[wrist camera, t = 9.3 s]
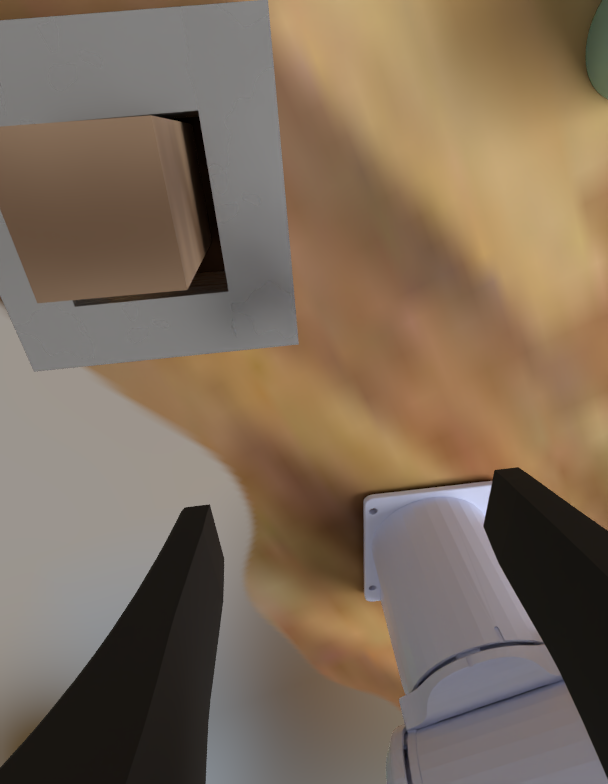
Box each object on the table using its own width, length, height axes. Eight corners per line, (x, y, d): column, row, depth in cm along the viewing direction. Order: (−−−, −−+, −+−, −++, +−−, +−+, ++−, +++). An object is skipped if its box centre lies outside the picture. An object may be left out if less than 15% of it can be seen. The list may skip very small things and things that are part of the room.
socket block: (293, 316, 19) (298, 344, 17) (65, 339, 19) (34, 371, 16) (266, 25, 14) (267, -1, 11) (-47, 50, 14) (-119, 29, 11)
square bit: (211, 241, 17) (187, 290, 12) (110, 250, 17) (37, 303, 12) (192, 124, 15) (150, 115, 10) (77, 132, 15) (-32, 128, 10)
